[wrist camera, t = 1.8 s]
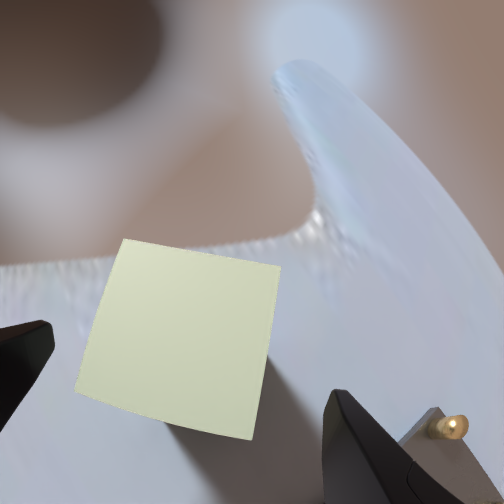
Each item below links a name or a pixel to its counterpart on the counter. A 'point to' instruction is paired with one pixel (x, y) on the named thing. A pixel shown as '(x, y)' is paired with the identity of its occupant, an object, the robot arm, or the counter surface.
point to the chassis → (449, 457)
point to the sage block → (182, 338)
